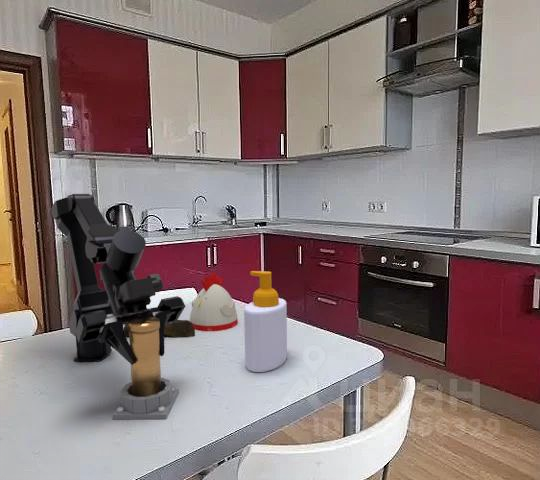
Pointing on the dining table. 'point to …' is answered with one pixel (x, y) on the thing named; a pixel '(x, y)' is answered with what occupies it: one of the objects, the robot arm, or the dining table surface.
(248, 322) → the soap bottle
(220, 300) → the kitchen timer
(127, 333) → the hand tool
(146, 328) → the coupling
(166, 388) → the socket
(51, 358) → the dining table surface
